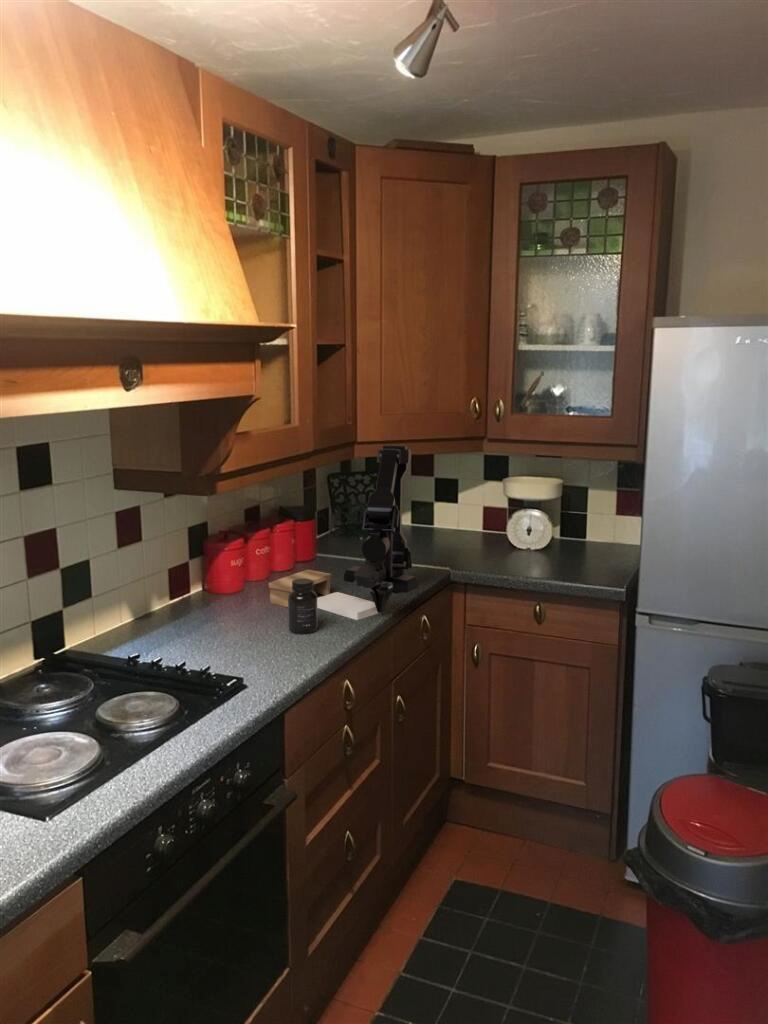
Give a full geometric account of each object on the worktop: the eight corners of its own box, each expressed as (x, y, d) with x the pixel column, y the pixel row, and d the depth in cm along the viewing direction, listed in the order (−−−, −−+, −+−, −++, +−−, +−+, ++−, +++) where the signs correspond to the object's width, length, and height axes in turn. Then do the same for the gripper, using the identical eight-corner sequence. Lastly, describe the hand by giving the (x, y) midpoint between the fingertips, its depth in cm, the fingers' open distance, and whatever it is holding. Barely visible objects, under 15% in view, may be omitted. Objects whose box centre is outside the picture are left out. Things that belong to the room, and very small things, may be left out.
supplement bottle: (285, 627, 205) (284, 578, 203) (313, 624, 207) (312, 575, 205) (292, 636, 199) (292, 586, 196) (321, 633, 201) (320, 583, 199)
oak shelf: (307, 589, 236) (307, 569, 235) (331, 594, 232) (331, 574, 230) (269, 603, 223) (268, 582, 222) (293, 609, 218) (292, 587, 217)
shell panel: (337, 600, 228) (337, 591, 227) (382, 613, 217) (382, 604, 217) (312, 608, 221) (312, 599, 221) (357, 622, 211) (357, 612, 210)
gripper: (330, 552, 209) (330, 614, 212) (395, 563, 199) (394, 628, 202) (356, 543, 218) (356, 602, 221) (420, 554, 208) (419, 615, 211)
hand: (380, 612), depth 214 cm, fingers closed
